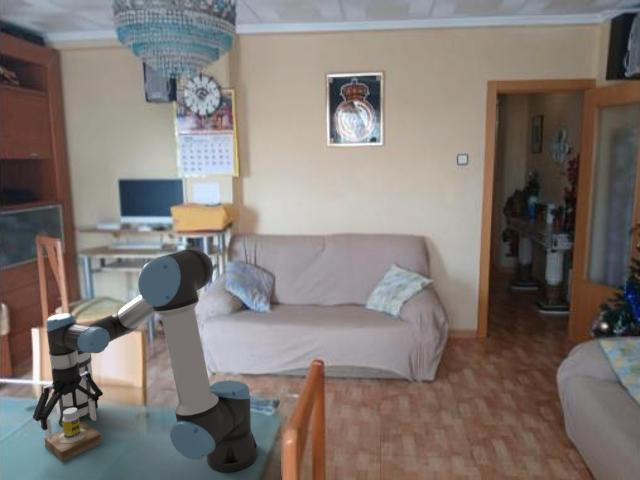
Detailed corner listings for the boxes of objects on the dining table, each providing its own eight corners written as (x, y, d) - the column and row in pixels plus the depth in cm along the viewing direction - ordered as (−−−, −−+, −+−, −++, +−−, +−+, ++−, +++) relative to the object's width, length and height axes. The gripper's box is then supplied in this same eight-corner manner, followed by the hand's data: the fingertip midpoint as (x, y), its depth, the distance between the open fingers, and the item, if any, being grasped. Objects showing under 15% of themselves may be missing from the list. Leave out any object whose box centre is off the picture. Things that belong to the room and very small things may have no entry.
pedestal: (101, 442, 155) (100, 433, 154) (62, 461, 146) (61, 451, 145) (83, 429, 162) (82, 421, 162) (45, 446, 153) (44, 437, 153)
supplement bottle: (74, 440, 151) (71, 415, 149) (60, 438, 152) (57, 413, 150) (84, 431, 156) (81, 407, 154) (71, 430, 156) (68, 406, 155)
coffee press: (40, 422, 167) (30, 339, 162) (79, 401, 182) (71, 323, 176) (77, 433, 160) (68, 346, 155) (115, 409, 175) (107, 330, 170)
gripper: (98, 348, 161) (104, 408, 165) (15, 375, 142) (23, 442, 146) (110, 354, 157) (115, 415, 160) (25, 382, 138) (34, 451, 141)
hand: (71, 428), depth 153 cm, fingers open, 13 cm apart
